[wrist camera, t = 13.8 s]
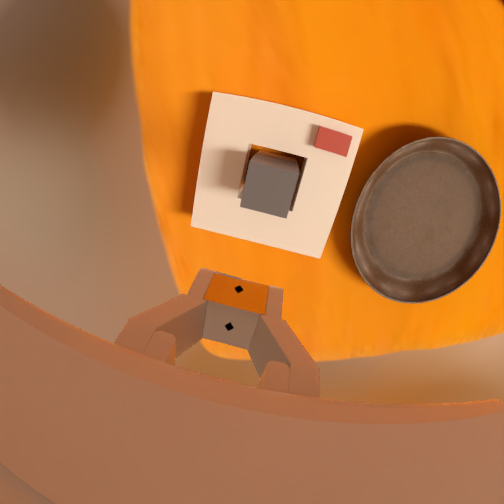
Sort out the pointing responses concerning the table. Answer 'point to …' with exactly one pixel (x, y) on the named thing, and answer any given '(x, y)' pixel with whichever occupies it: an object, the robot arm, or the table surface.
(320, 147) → the socket plate
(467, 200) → the plant saucer
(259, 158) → the plug
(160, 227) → the table surface
